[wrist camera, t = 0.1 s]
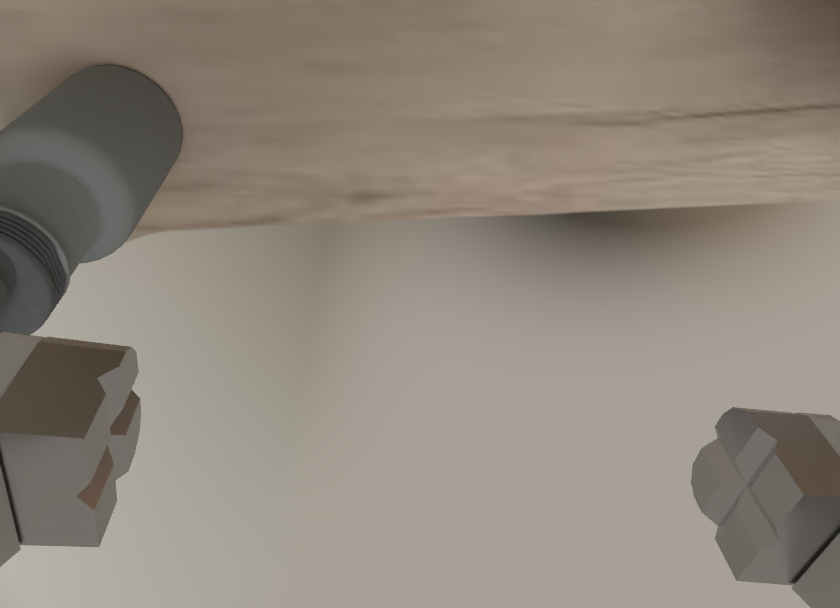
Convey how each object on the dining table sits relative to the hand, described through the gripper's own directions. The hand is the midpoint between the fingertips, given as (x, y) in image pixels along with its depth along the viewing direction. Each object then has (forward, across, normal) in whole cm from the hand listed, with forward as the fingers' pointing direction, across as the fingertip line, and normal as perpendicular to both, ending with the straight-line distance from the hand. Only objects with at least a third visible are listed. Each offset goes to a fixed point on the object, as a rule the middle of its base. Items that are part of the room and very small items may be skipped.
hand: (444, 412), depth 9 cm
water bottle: (+48, +19, +16) cm, 54 cm away
